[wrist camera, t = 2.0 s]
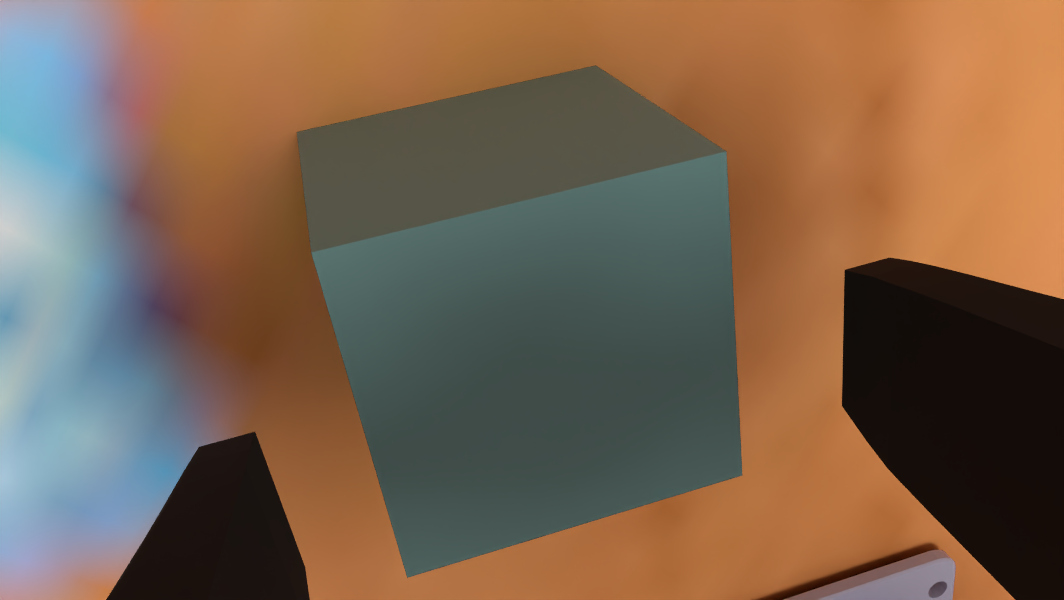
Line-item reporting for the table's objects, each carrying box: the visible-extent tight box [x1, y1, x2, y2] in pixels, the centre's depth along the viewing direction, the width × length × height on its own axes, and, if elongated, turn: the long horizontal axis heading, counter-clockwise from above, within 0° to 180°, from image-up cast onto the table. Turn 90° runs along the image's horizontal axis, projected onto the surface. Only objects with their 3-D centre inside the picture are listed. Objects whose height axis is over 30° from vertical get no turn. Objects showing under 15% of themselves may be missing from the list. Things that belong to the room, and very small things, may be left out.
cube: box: [297, 66, 742, 578], centre depth 14 cm, size 5×5×5 cm
